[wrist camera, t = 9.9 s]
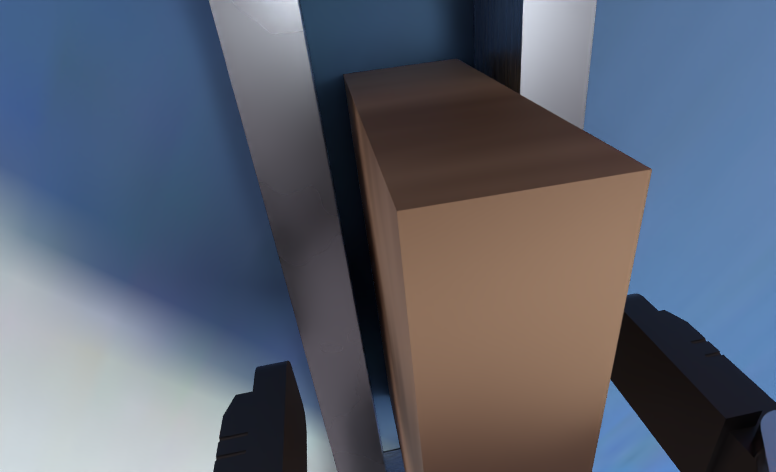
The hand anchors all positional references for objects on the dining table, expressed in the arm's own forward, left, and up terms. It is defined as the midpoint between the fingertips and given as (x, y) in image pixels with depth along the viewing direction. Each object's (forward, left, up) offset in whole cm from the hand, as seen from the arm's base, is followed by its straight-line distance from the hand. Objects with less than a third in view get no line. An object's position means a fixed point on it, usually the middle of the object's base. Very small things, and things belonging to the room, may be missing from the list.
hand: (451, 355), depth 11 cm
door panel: (0, 0, -4) cm, 4 cm away
